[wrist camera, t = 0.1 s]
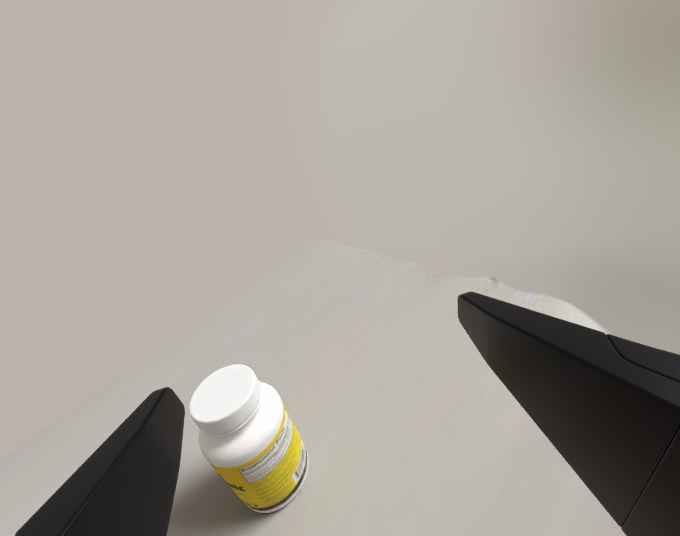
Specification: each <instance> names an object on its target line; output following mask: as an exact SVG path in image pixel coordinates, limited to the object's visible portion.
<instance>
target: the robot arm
mask: <svg viewBox="0 0 680 536" xmlns="http://www.w3.org/2000/svg"><path fill="white" fill-rule="evenodd" d="M458 318H459V321H460V323H461V324H462V326H463V327H464V329H465V330H466V332H467V334H468V335H469V337H470V338H471V340H472V341H473V343H474V344H475V346H476V347H477V349H478V350H479V352H480V354H481V355H482V357H483V358H484V360H485V361H486V362H487V364H488V365H489V366H490V368H491V369H492V370H493V371H494V373H495V374H496V375H497V376H498V378H499V379H500V380H501V381H502V383H503V384H504V385H505V386H506V387H507V389H508V390H509V391H510V392H511V394H512V395H513V396H514V397H515V398H516V400H517V401H518V402H519V403H520V405H521V406H522V407H523V408H524V410H525V411H526V412H527V413H528V414H529V416H530V417H531V418H532V419H533V421H534V422H535V423H536V424H537V426H538V427H539V428H540V429H541V430H542V432H543V433H544V434H545V435H546V437H547V438H548V439H549V440H550V442H551V443H552V444H553V445H554V446H555V448H556V449H557V450H558V451H559V453H560V454H561V455H562V456H563V458H564V459H565V460H566V461H567V462H568V464H569V465H570V466H571V467H572V469H573V470H574V471H575V472H576V474H577V475H578V476H579V477H580V478H581V480H582V481H583V482H584V483H585V485H586V486H587V487H588V488H589V489H590V491H591V492H592V493H593V494H594V496H595V497H596V498H597V499H598V501H599V502H600V503H601V504H602V505H603V507H604V508H605V509H606V510H607V512H608V513H609V514H610V515H611V517H612V518H613V519H614V520H615V521H616V523H617V524H618V525H619V526H620V527H621V529H622V530H623V532H624V533H625V534H626V535H627V536H680V355H678V354H675V353H671V352H667V351H664V350H660V349H656V348H653V347H649V346H646V345H642V344H639V343H636V342H632V341H629V340H626V339H623V338H619V337H616V336H613V335H610V334H607V335H606V334H605V333H603V332H600V331H597V330H594V329H590V328H587V327H584V326H581V325H578V324H574V323H571V322H568V321H565V320H561V319H558V318H555V317H552V316H549V315H545V314H542V313H539V312H536V311H533V310H529V309H526V308H523V307H520V306H517V305H513V304H510V303H507V302H504V301H500V300H497V299H494V298H491V297H488V296H484V295H481V294H478V293H475V292H467V293H464V294H461V295H459V296H458ZM184 416H185V409H184V405H183V403H182V402H181V401H180V399H179V398H178V397H177V395H176V394H175V393H174V391H173V390H172V389H171V388H169V387H165V388H162V389H159V390H156V391H154V392H152V393H151V394H150V395H149V396H148V397H147V398H146V399H145V400H144V401H143V402H142V403H141V404H140V406H139V407H138V408H137V409H136V410H135V411H134V412H133V413H132V414H131V415H130V416H129V417H128V418H127V419H126V420H125V421H124V422H123V423H122V424H121V425H120V426H119V427H118V428H117V429H116V430H115V431H114V432H113V433H112V434H111V435H110V436H109V437H108V439H107V440H106V441H105V442H104V443H103V444H102V445H101V446H100V447H99V448H98V449H97V450H96V451H95V452H94V453H93V454H92V455H91V456H90V457H89V458H88V459H87V460H86V461H85V462H84V463H83V464H82V465H81V466H80V467H79V468H78V469H77V471H76V472H75V473H74V474H73V475H72V476H71V477H70V478H69V479H68V480H67V481H66V482H65V483H64V484H63V485H62V486H61V487H60V488H59V489H58V490H57V491H56V492H55V493H54V494H53V495H52V496H51V497H50V498H49V499H48V500H47V501H46V502H45V504H44V505H43V506H42V507H41V508H40V509H39V510H38V511H37V512H36V513H35V514H34V515H33V516H32V517H31V518H30V519H29V520H28V521H27V522H26V523H25V524H24V525H23V526H22V527H21V528H20V529H19V530H18V531H17V532H16V534H15V536H166V535H167V530H168V525H169V520H170V515H171V509H172V504H173V499H174V494H175V489H176V484H177V479H178V473H179V467H180V459H181V449H182V438H183V427H184Z"/></svg>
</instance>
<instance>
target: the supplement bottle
mask: <svg viewBox="0 0 680 536" xmlns="http://www.w3.org/2000/svg"><path fill="white" fill-rule="evenodd" d="M189 411H190V415H191V417H192V419H193V420H194V421H195V423H196V424H197V425H198V427H199V428H200V431H199V445H200V449H201V451H202V453H203V455H204V456H205V458H206V459H207V460H208V462H209V463H210V464H211V465H212V466H213V467H214V469H215V470H216V471H217V472H218V473H219V474H220V476H221V477H222V478H223V479H224V480H225V482H226V483H227V484H228V485H229V486H230V487H231V488H232V490H233V491H234V492H235V493H236V494H237V495H238V497H239V498H240V499H241V500H242V501H243V502H244V503H245V505H247V506H248V507H249V508H250V509H252V510H254V511H256V512H259V513H269V512H273V511H276V510H278V509H280V508H282V507H284V506H285V505H287V504H288V503H289V502H290V501H291V500H292V499H293V498H294V497H295V496H296V495H297V493H298V492H299V491H300V489H301V487H302V486H303V483H304V481H305V479H306V476H307V472H308V464H309V462H308V453H307V450H306V447H305V445H304V443H303V441H302V439H301V437H300V435H299V433H298V431H297V429H296V427H295V426H294V424H293V422H292V420H291V418H290V416H289V414H288V412H287V410H286V408H285V406H284V404H283V402H282V400H281V398H280V396H279V395H278V393H277V392H276V390H275V389H274V388H273V387H271V386H270V385H268V384H266V383H263V382H259V381H258V379H257V377H256V375H255V374H254V372H253V371H252V370H251V369H250V368H249V367H247V366H245V365H230V366H227V367H224V368H221V369H219V370H217V371H216V372H214V373H212V374H211V375H210V376H208V377H207V378H206V379H205V380H204V381H203V382H202V383H201V384H200V385H199V386H198V388H197V389H196V390H195V392H194V394H193V395H192V398H191V400H190V405H189Z"/></svg>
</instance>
